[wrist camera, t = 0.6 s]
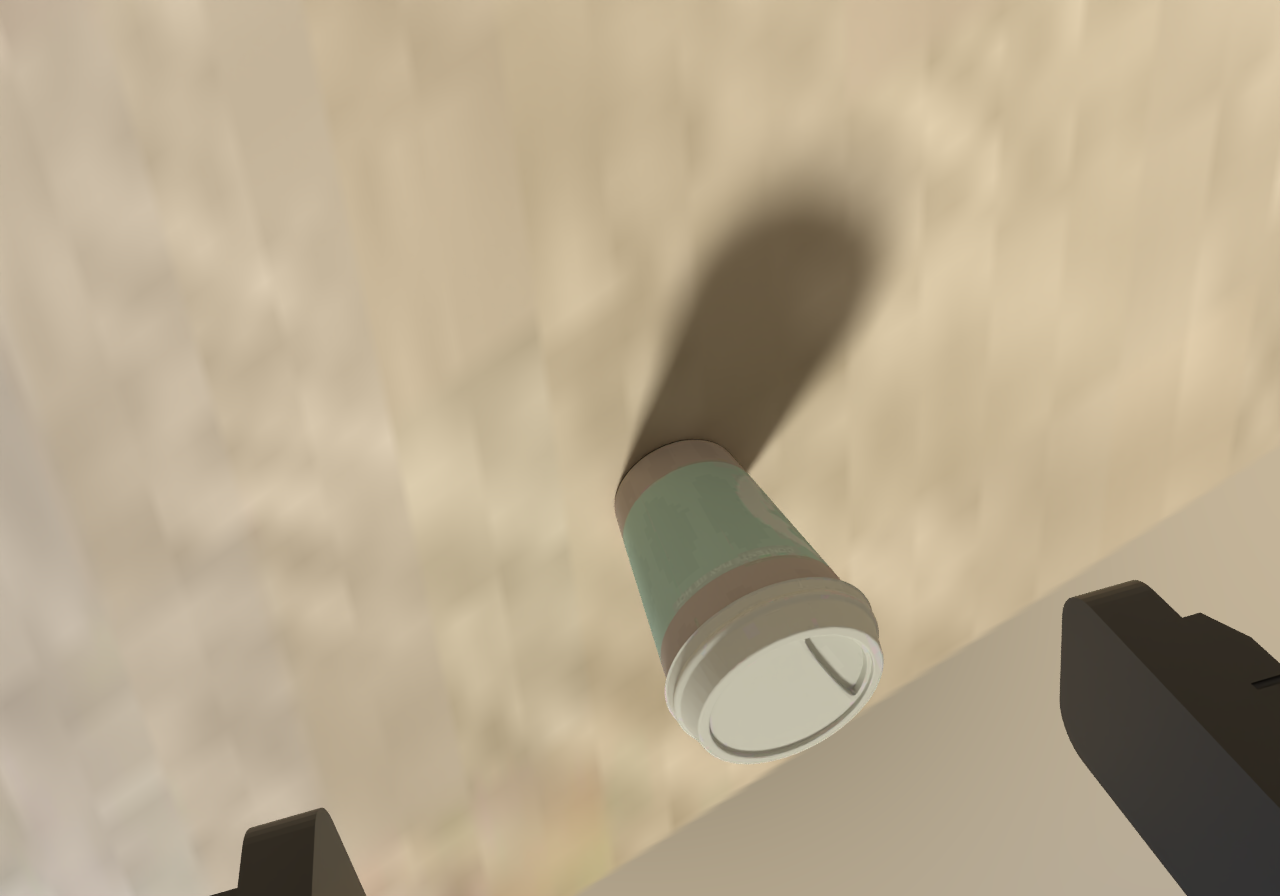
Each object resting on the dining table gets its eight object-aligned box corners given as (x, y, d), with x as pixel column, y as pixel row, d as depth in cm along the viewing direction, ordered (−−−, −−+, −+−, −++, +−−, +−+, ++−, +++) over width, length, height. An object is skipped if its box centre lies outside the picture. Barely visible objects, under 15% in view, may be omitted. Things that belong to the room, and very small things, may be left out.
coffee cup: (755, 540, 53) (876, 740, 45) (583, 578, 51) (677, 798, 42) (774, 396, 48) (917, 592, 39) (583, 432, 46) (691, 649, 37)
